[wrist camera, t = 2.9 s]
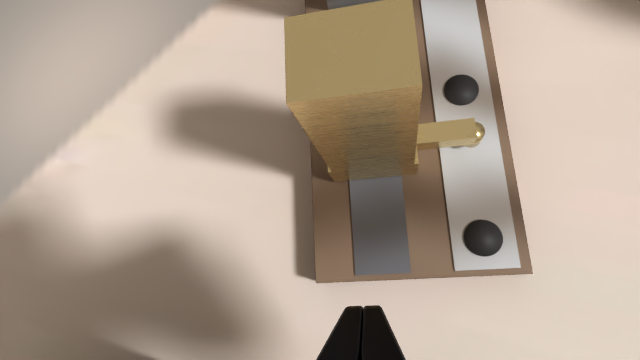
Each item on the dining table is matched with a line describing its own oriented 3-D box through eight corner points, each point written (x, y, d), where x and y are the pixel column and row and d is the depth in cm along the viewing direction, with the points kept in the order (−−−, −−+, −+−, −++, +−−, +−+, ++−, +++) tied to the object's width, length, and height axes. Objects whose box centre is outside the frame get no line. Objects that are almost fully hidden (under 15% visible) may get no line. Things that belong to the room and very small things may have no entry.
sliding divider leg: (483, 168, 20) (557, 66, 10) (334, 181, 21) (279, 103, 12) (475, 113, 21) (537, -27, 11) (331, 130, 22) (278, 18, 13)
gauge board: (523, 274, 20) (671, 268, 9) (321, 283, 22) (240, 287, 11) (469, -43, 25) (522, -295, 14) (309, -13, 27) (244, -213, 16)
